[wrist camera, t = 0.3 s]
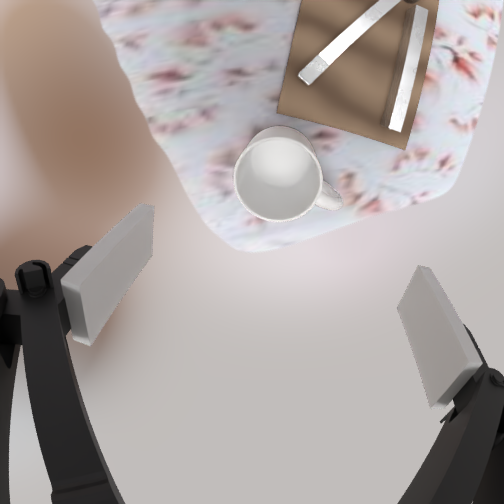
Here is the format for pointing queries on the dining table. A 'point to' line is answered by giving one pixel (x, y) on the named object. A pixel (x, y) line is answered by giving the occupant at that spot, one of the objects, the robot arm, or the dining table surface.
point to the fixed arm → (405, 67)
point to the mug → (282, 177)
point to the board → (352, 68)
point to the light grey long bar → (345, 40)
